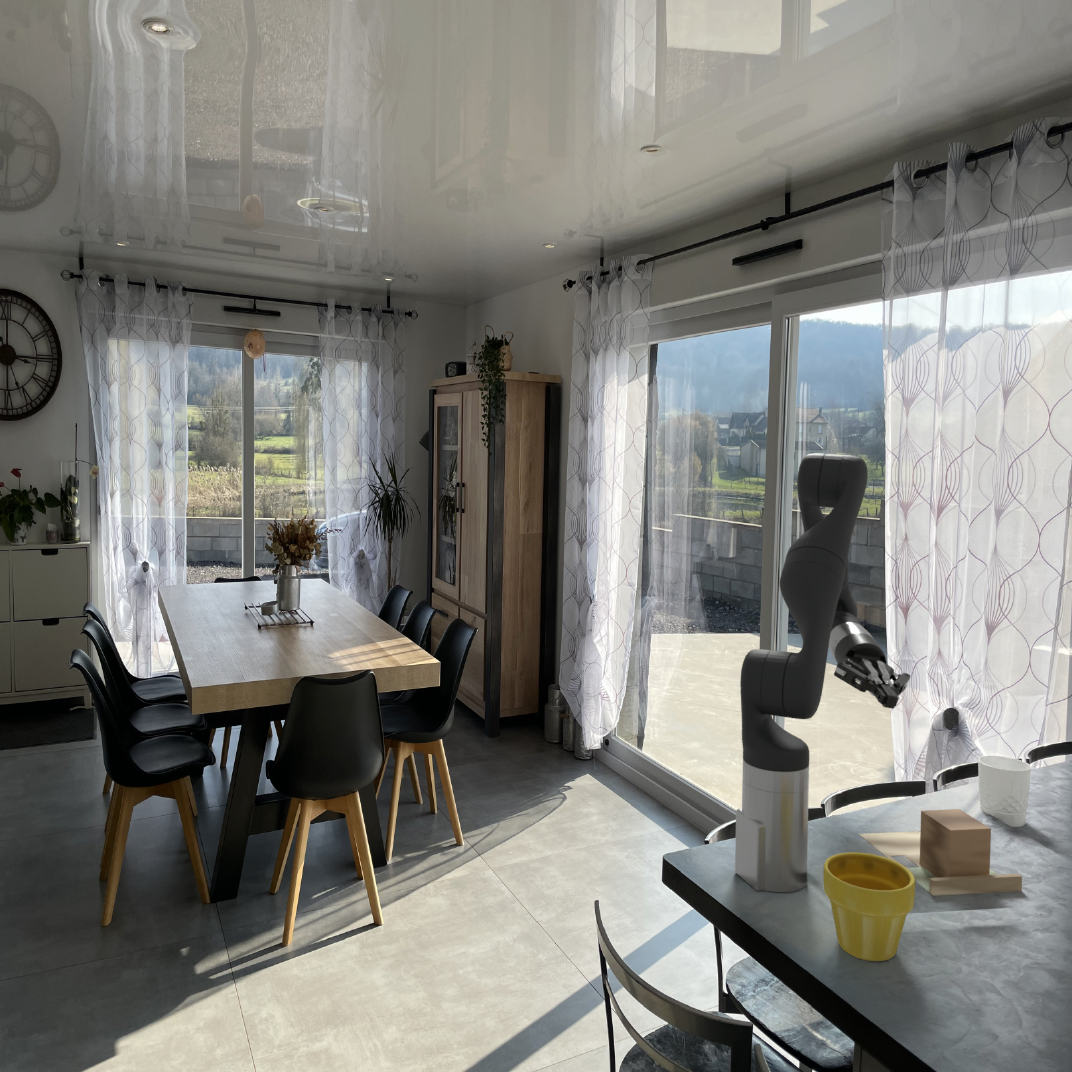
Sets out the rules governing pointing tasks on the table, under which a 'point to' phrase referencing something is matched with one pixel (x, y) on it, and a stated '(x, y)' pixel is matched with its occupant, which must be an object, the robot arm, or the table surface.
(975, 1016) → the table surface
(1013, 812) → the white cup
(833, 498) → the robot arm
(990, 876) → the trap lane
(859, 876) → the plant pot
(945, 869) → the walnut block
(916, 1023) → the table surface
